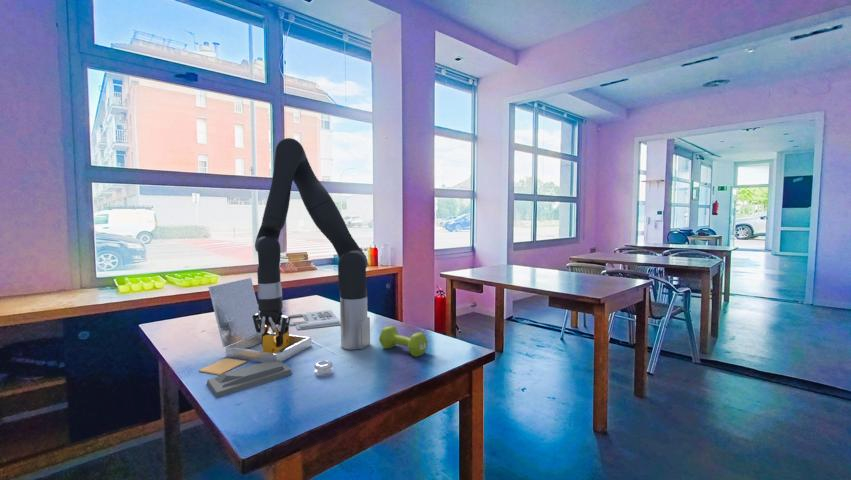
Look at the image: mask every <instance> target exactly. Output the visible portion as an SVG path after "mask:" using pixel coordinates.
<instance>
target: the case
mask: <svg viewBox="0 0 851 480" xmlns="http://www.w3.org/2000/svg"><path fill="white" fill-rule="evenodd" d="M267 333H269V335H273V337H274V336H276V334H275V332H273V331H268V332H267ZM261 343H262V335H261V333H258V334H256V335H253V336H251V337H248V338H246V339H243V340H241V341H239V342H236V343H234V344H231V345H229V346H226V347H225V358H232V359H238V360H244V361H251V362H259V363H263V362H274V361H278V360H279V361H281V362H282V363H283V362H284V361H286V360H288V359H290V358H291V357H293V356H295V355H297V354H299V353H301V352H303V351H304V350H306V349H308V348H310V347H312V337H310V336H303V335H297V334H289V343H290V344H289V345H290V346H288V347H285V348H283V349H281V350H280V351H278V352H277V353H269V352H263V350H262V351H260V350H255V349H249V348H251V347H254V346H256V345H259V344H261Z"/></svg>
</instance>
